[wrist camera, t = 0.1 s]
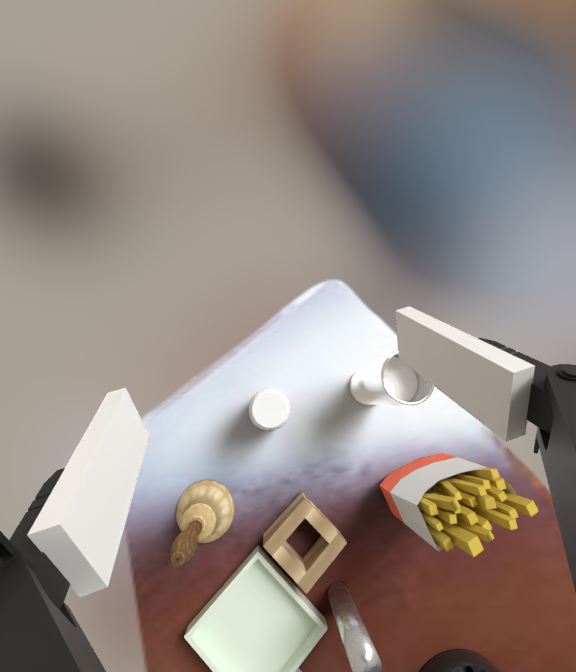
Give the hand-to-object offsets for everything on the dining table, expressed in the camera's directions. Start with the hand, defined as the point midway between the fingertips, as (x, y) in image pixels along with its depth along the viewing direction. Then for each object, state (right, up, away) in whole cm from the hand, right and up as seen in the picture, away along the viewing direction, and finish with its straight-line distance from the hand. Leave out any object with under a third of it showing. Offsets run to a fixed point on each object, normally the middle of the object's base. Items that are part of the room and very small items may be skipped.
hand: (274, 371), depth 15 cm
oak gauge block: (+3, -27, +31) cm, 41 cm away
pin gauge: (+8, -35, +29) cm, 46 cm away
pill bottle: (-2, -10, +35) cm, 36 cm away
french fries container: (+20, -20, +34) cm, 44 cm away
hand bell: (-11, -24, +31) cm, 40 cm away
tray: (-4, -37, +28) cm, 47 cm away
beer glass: (+14, -7, +37) cm, 40 cm away
